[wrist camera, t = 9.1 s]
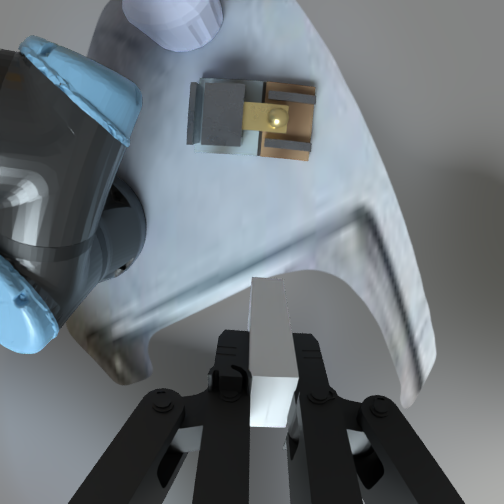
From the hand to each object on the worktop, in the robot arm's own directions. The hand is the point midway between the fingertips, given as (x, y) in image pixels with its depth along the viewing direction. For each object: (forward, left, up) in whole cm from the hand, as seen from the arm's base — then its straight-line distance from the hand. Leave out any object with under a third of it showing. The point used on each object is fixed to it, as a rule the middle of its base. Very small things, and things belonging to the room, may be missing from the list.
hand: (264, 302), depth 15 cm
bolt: (-1, +10, -23) cm, 25 cm away
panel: (-1, +10, -24) cm, 26 cm away
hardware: (-1, +9, -23) cm, 25 cm away
